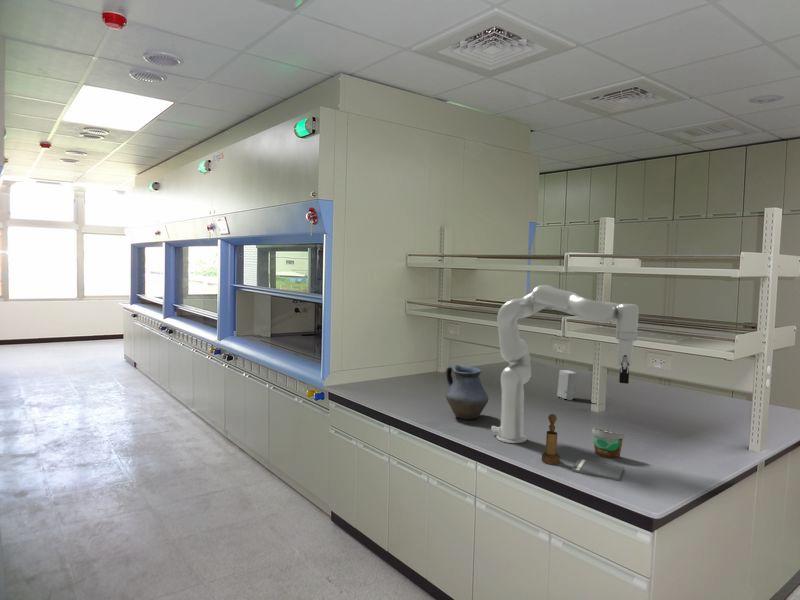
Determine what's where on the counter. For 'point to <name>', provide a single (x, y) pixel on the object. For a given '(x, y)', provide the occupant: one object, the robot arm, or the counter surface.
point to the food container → (607, 443)
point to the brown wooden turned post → (551, 443)
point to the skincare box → (567, 384)
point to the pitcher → (465, 392)
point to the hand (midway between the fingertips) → (623, 380)
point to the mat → (598, 469)
